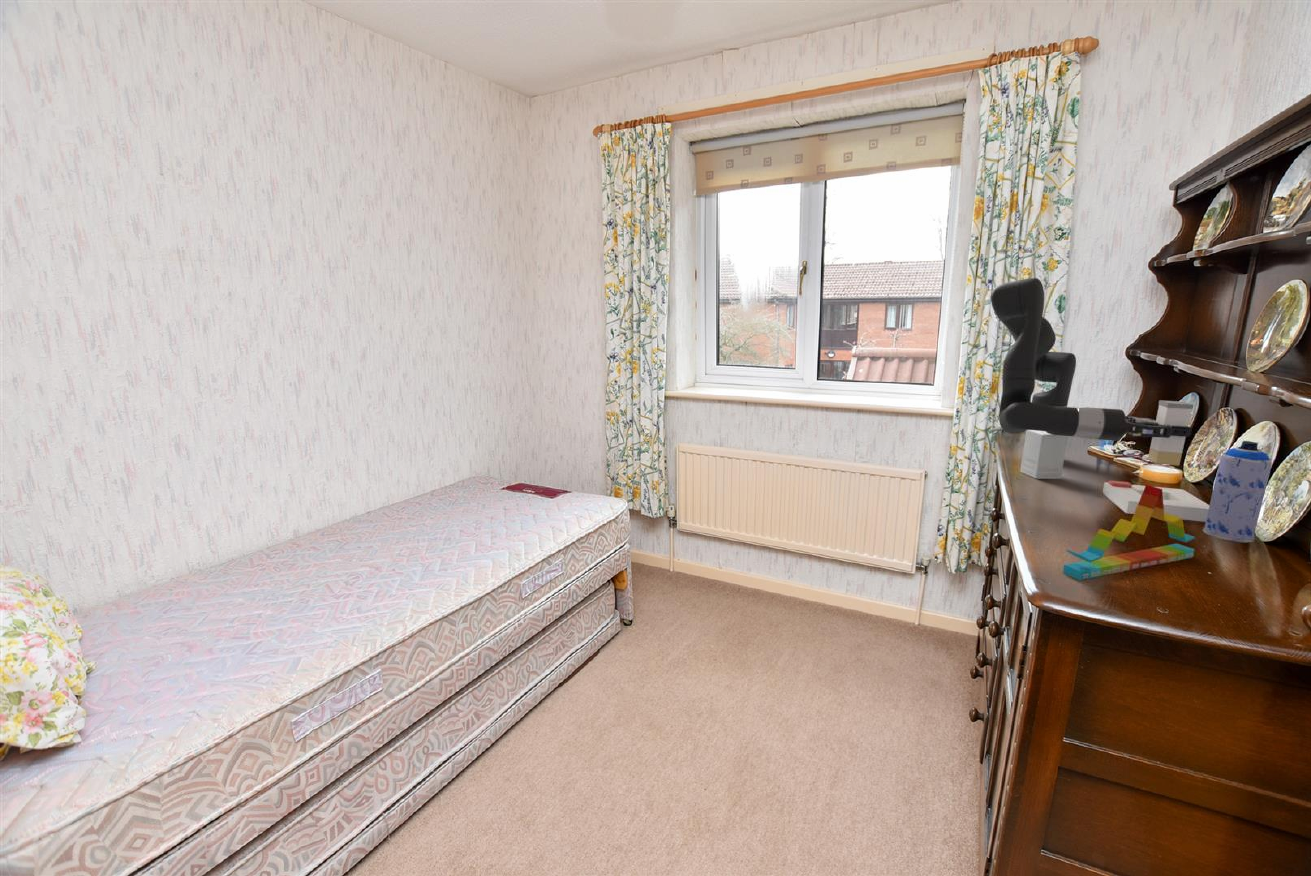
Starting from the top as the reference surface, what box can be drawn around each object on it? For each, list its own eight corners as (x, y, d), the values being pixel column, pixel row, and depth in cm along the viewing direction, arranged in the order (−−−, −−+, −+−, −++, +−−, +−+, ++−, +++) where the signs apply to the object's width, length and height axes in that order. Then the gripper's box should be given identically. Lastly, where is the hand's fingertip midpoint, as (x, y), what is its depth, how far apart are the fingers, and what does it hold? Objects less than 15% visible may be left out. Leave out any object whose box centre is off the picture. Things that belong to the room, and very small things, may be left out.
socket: (1102, 493, 149) (1105, 479, 148) (1180, 501, 143) (1183, 486, 142) (1126, 513, 134) (1129, 497, 133) (1214, 522, 129) (1217, 506, 128)
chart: (1080, 582, 101) (1095, 499, 97) (1062, 574, 103) (1076, 494, 100) (1193, 559, 110) (1211, 483, 107) (1174, 552, 113) (1190, 478, 110)
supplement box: (1061, 479, 161) (1069, 434, 158) (1034, 479, 161) (1041, 434, 158) (1045, 472, 168) (1052, 429, 165) (1019, 471, 168) (1025, 429, 165)
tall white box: (1147, 459, 139) (1159, 400, 136) (1171, 461, 138) (1183, 401, 134) (1155, 463, 135) (1168, 403, 132) (1180, 465, 133) (1193, 404, 130)
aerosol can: (1264, 540, 119) (1288, 445, 115) (1237, 544, 117) (1261, 447, 113) (1218, 526, 127) (1239, 436, 122) (1193, 530, 124) (1213, 438, 120)
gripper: (1109, 413, 132) (1204, 419, 126) (1089, 403, 145) (1174, 409, 139) (1103, 445, 134) (1197, 452, 128) (1084, 433, 147) (1168, 439, 141)
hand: (1185, 429), depth 134 cm, fingers closed on tall white box, 4 cm apart
